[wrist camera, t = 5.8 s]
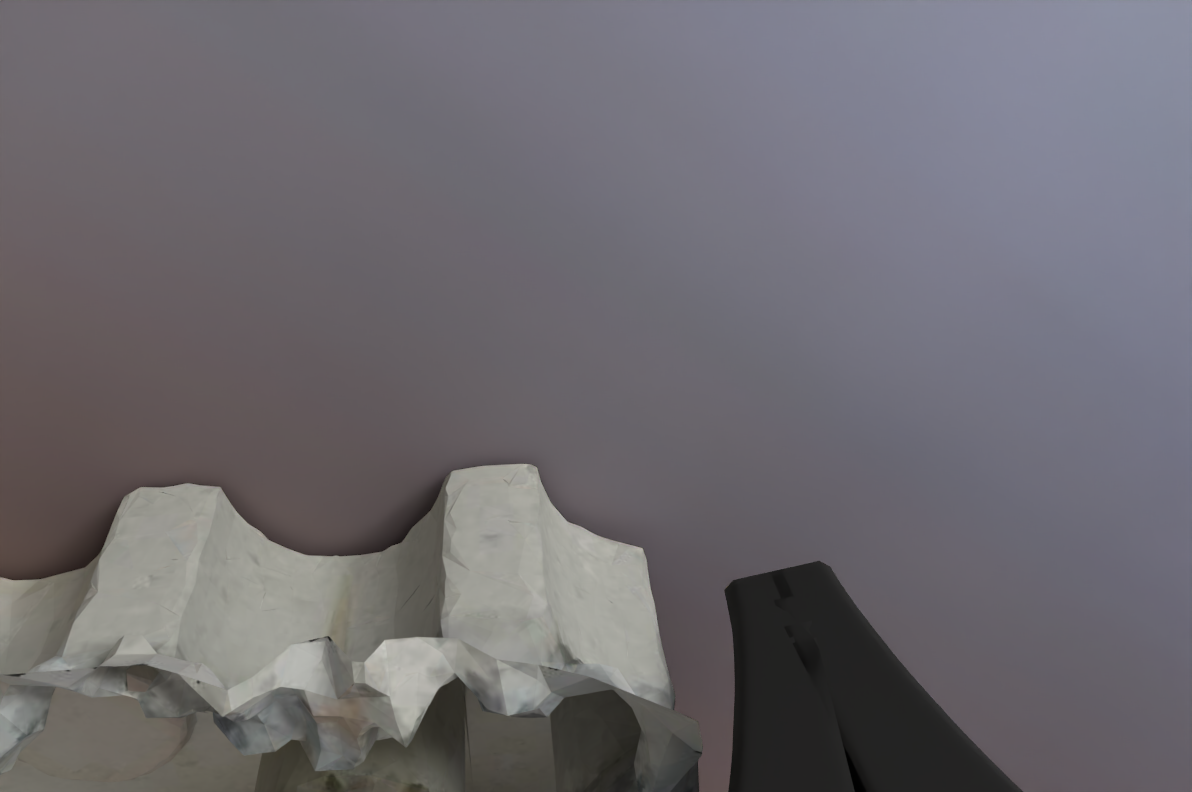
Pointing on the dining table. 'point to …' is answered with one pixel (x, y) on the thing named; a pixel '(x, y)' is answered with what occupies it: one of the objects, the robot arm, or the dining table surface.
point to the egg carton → (343, 657)
